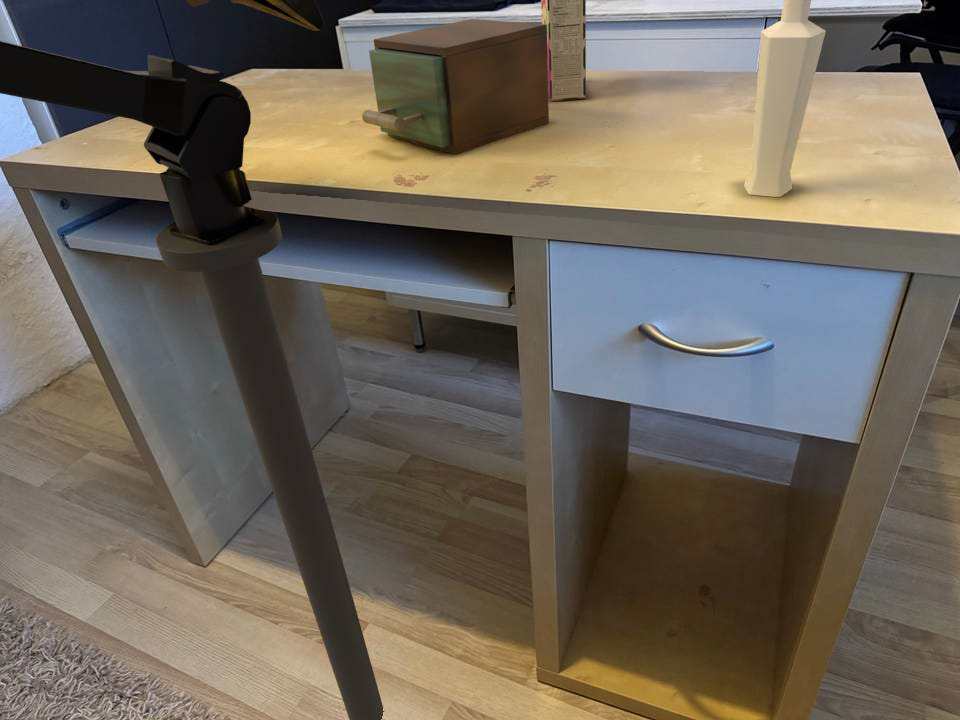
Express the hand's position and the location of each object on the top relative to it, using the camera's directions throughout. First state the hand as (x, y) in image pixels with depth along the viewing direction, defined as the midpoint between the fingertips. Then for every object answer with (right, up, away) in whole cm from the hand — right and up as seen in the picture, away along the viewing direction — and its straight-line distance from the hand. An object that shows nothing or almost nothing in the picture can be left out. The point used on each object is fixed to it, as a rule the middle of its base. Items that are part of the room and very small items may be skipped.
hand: (320, 26), depth 65 cm
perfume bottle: (+40, -17, -6) cm, 44 cm away
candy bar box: (+27, +5, +29) cm, 39 cm away
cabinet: (+14, -4, +16) cm, 22 cm away
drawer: (+11, -5, +14) cm, 18 cm away
